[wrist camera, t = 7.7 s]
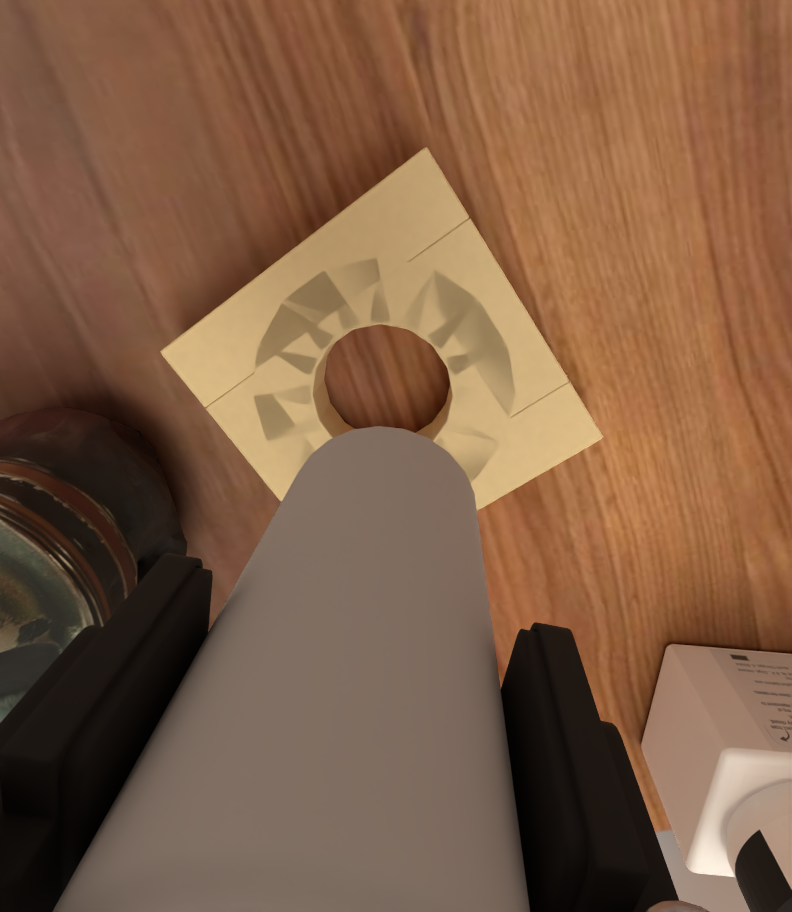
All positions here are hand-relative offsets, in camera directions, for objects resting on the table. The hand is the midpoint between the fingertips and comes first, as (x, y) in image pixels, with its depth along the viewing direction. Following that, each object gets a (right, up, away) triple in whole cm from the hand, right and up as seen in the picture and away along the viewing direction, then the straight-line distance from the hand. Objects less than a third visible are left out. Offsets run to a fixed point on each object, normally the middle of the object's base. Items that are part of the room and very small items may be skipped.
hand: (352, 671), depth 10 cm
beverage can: (0, +2, +7) cm, 7 cm away
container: (+19, -11, +25) cm, 33 cm away
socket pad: (0, +7, +20) cm, 21 cm away
